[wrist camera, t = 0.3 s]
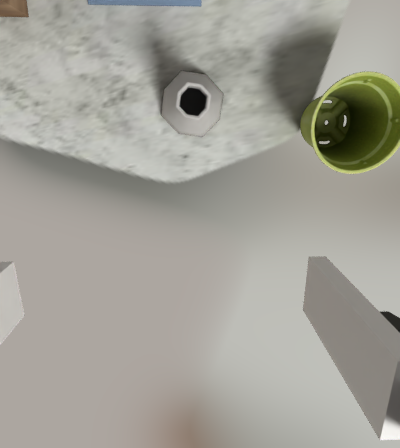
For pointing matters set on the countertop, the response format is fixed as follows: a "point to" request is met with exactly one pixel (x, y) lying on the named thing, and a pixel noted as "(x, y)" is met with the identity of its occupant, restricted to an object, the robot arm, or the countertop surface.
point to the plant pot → (355, 122)
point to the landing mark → (147, 2)
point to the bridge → (13, 8)
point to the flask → (192, 103)
